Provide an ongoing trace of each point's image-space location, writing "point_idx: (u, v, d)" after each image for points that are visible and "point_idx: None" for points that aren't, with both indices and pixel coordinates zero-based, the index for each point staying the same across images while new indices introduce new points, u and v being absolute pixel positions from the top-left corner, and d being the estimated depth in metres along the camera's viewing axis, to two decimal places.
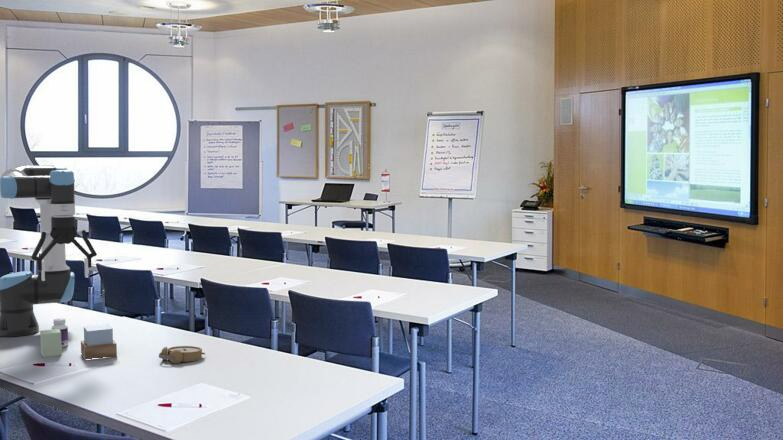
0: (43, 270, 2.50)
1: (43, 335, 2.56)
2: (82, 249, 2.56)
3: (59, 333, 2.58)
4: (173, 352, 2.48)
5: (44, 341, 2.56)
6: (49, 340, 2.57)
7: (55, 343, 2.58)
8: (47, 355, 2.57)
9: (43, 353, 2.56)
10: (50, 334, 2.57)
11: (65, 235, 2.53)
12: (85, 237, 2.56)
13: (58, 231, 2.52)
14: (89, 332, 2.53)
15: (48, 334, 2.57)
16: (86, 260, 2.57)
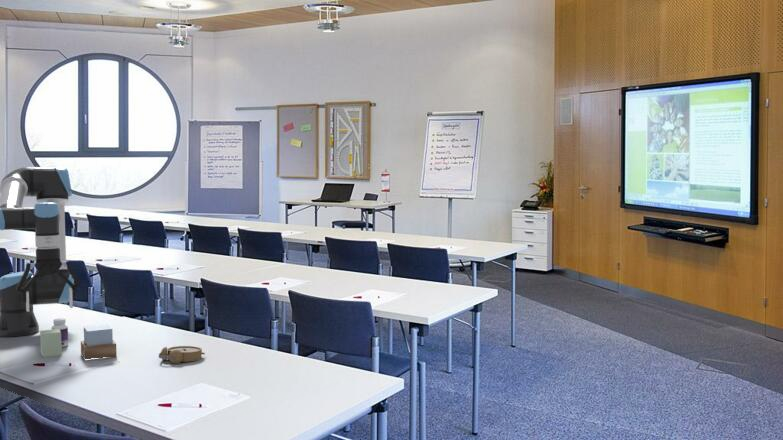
0: (28, 301, 2.54)
1: (43, 335, 2.56)
2: (66, 280, 2.60)
3: (59, 333, 2.58)
4: (173, 352, 2.48)
5: (44, 341, 2.56)
6: (49, 340, 2.57)
7: (55, 343, 2.58)
8: (47, 355, 2.57)
9: (43, 353, 2.56)
10: (50, 334, 2.57)
11: (49, 266, 2.57)
12: (69, 268, 2.60)
13: (42, 262, 2.56)
14: (89, 332, 2.53)
15: (48, 334, 2.57)
16: (70, 290, 2.61)
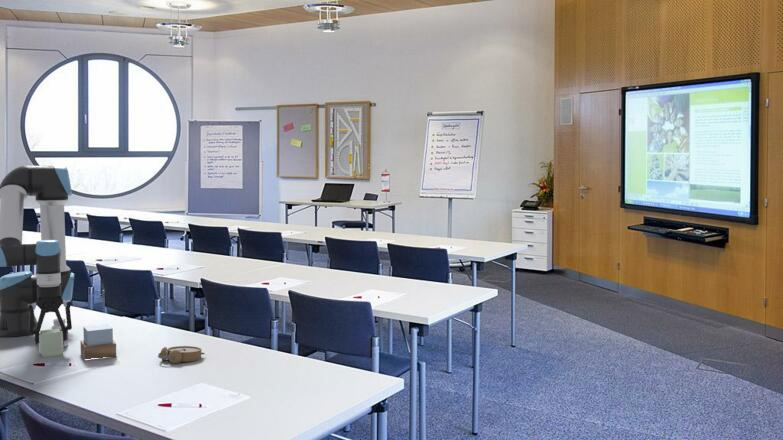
0: (40, 343, 2.57)
1: (43, 335, 2.56)
2: (61, 321, 2.60)
3: (59, 333, 2.58)
4: (172, 352, 2.48)
5: (44, 341, 2.56)
6: (49, 340, 2.57)
7: (55, 343, 2.58)
8: (47, 355, 2.57)
9: (43, 353, 2.56)
10: (50, 334, 2.57)
11: (51, 303, 2.58)
12: (68, 309, 2.61)
13: (42, 299, 2.57)
14: (89, 332, 2.53)
15: (48, 334, 2.57)
16: (61, 334, 2.60)
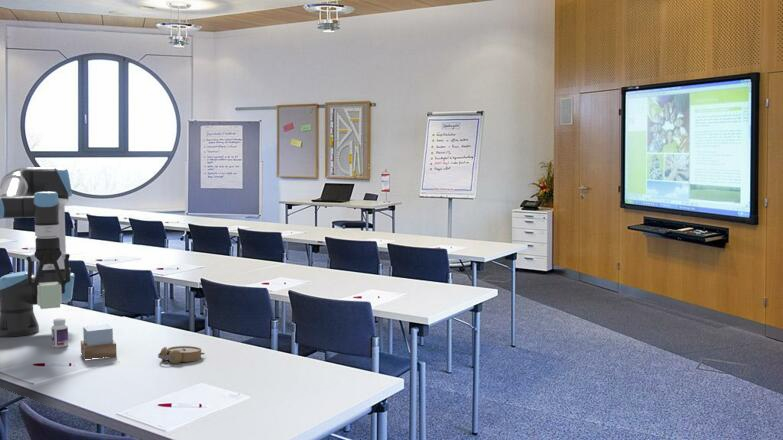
0: (39, 295, 2.56)
1: (41, 287, 2.55)
2: (59, 273, 2.59)
3: (58, 285, 2.57)
4: (172, 352, 2.48)
5: (42, 293, 2.55)
6: (48, 292, 2.56)
7: (54, 295, 2.57)
8: (45, 307, 2.56)
9: (41, 305, 2.55)
10: (48, 286, 2.56)
11: (49, 255, 2.57)
12: (66, 261, 2.60)
13: (41, 250, 2.55)
14: (89, 332, 2.53)
15: (46, 286, 2.56)
16: None
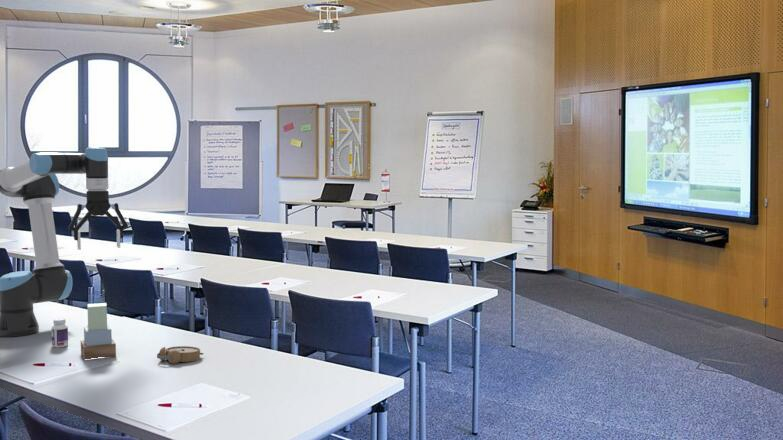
0: (79, 240, 2.70)
1: (89, 308, 2.53)
2: (115, 221, 2.76)
3: (105, 307, 2.55)
4: (171, 352, 2.47)
5: (90, 315, 2.53)
6: (95, 313, 2.54)
7: (101, 317, 2.55)
8: (92, 328, 2.54)
9: (89, 326, 2.54)
10: (96, 307, 2.54)
11: (99, 207, 2.73)
12: (117, 210, 2.76)
13: (93, 204, 2.72)
14: (88, 332, 2.52)
15: (94, 307, 2.54)
16: (118, 231, 2.77)
